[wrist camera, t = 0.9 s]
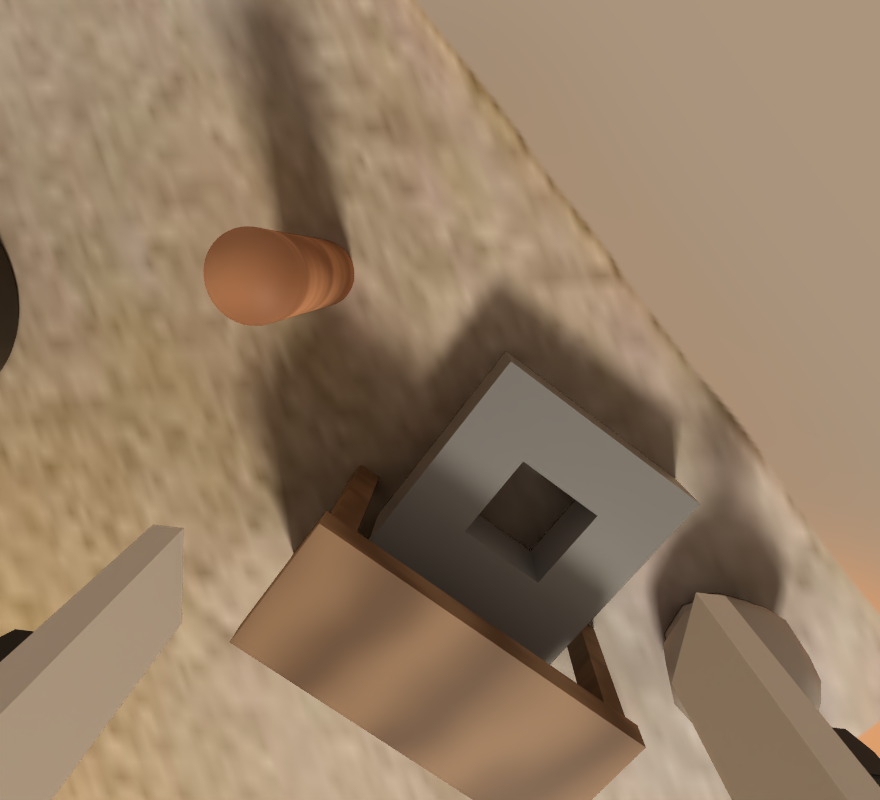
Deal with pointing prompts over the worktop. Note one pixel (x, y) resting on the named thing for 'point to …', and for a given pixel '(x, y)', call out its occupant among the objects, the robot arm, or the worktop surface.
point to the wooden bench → (435, 670)
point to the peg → (274, 275)
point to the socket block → (566, 543)
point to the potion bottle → (771, 634)
